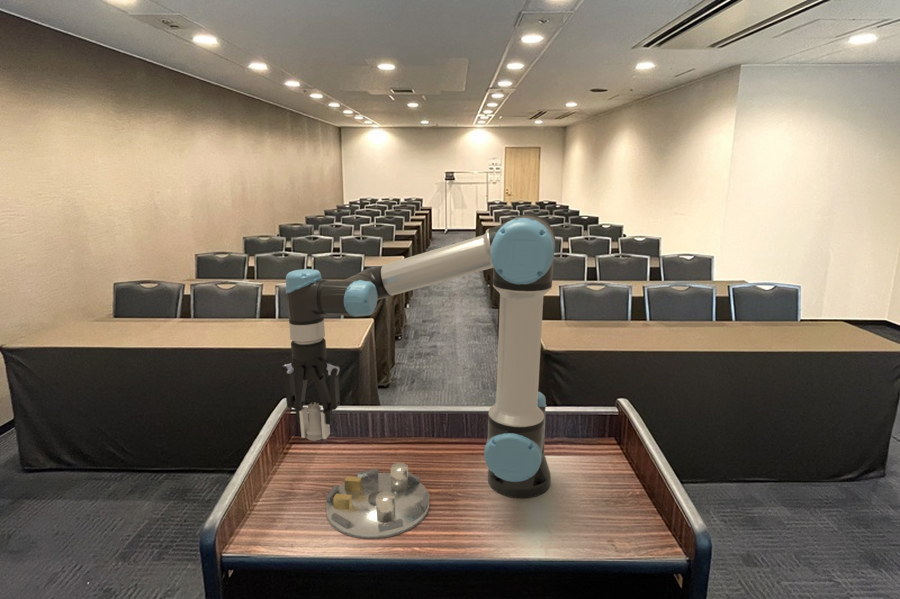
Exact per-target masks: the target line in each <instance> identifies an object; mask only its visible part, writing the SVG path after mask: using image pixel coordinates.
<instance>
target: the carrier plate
mask: <svg viewBox="0 0 900 599" xmlns="http://www.w3.org/2000/svg"><path fill="white" fill-rule="evenodd" d="M325 500H326V503H325V510H326V518H327V521H328V522H329V524H330V525H331V527H333V528H334V529H335V530H337V531H338V532H340V533H342V534H344V535H346V536H349V537H352V538H357V539H363V540H365V539H367V540H368V539H369V540H373V539H375V540H376V539H377V540H378V539H386V538H390V537H394V536H397V535H401V534H403V533H405V532H407V531H409V530H411V529H413V528H415V527H416V526H418V525H419V524H420V523H421V522H423V520H424V519H425V518H426V516H427V514H428V512H429V509H430V492H429V491H428V489H427V488H426V486H425V485H424V484H423V483H422V482H421V477H419V476H417V475H415V474H413V473H411V472H409V465H408V464H406V463H404V462H397V463H392V464H391V466H390V472H379V470H378V468H372V469H369V470H364V471H358V472H356V476H349V475H348V476H346V477H345V479H344V482H343V483H342V484H340V485H337V484H334V485H333V486H332V488H330V491H329V492H328V494H327V495H326V497H325Z"/></svg>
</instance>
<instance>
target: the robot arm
mask: <svg viewBox="0 0 900 599" xmlns="http://www.w3.org/2000/svg"><path fill="white" fill-rule="evenodd" d="M555 235H556V234H555V232H554V230H553V228H552V226H551V225H550V223H549V222H548V221H546V220H545V219H543V218H542V216H541V217H540V216H539V215H535V214H528V213H527V214H520V215H517V216H515V217H513V218H512V219H510V220H508V221H506V222H503V223H502V224H499V225H496V226H492V227H490V228H487V229H486V231H485V233H484V234H482V235H479V236H475V237H473V238H469V239H466V240H461V241H459V242H456V243H452V244H448V245H444V246H442V247H439V248H435V249H432V250H428V251H425V252H422V253H418V254H415V255H412V256H409V257H405V258H402V259H399V260H395V261H392V262H389V263H385V264H382V265H379V266H375V267H368V268H365V269H362V270H361V271H360V272H359V273H356V274H354V275H352V276H350V277H348V278H345V279H344V280H343V279H342V280H339V279H338V280H337V279H336V280H331V279H330V280H329V279H328V280H327V279H323V278H322V275H321V272H320V271H319V270H318V269H312V268H305V269H303V268H302V269H295V270H292V271H290V272H288V273H287V274H286V276H285V294H286V302H287V312H288V323H289V326H288V327H289V337H290V338H289V339H290V340H291V342H290V352H291V357H292V360H291V362H290V363H285V364H284V365H282V366H281V367H280V371H281V374H282V376H283V382H284V390H285V391H284V392H285V399H286V406H287V408H289V409H290V408H292V409H294V410H295V418H296V422H297V423H298V424H300V435H301V439H305V438H306V435H307V434H306V430H307V429H308V426H309V417H308V414H309V412H308V411H307V410H306V409H307V408H308V406H305V405H306V403H305V401H306V400H305V399H306V392H307V388H308V387H307V386H308V381H309V380H311V381H313V383H314V385H315V386H316V389H317V393H318V396H319V399H320V400H319V401H320V403H321V405H322V410H321V411H320V421H321V424H322V437H323V438H322V440H327V438H328V437H329V436H330V435H331V428H330V425H331V424H332V423H333V421H334V418H333V416H334V415H333V411H336V409H337V408H338V407H339V406H340V404H341V400H340V398H341V397H340V384H339V382H340V381H339V380H340V379H339V375H340V372H341V366H340V365H339V364H337V365H332V364H331V363H330V362H329V360H328V358H327V343H326V339H325V336H326V328H325V318H324V316H328V315H329V316H347V317H349V316H350V317H356V318H357V317H367V316H369V317H370V316H371V315H373V314H374V313H375V311H376V308H377V305H378V301H379V300H382V299H385V298H390V297H393V296H396V295H399V294H402V293H407V292H409V291H415V290H417V289H421V288H425V287H427V286H432V285H436V284H439V283H442V282H443V283H444V282H446V281H450V280H453V279H454V280H455V279H457V278H460V277H464V276H468V275H471V274H475V273H479V272H482V271H485V270H489V269H493V272H492V273H493V274H492V287H493V288H494V289H495V290H496V291H497V292H498V294H499V319H498V343H497V345H498V346H497V370H496V371H497V374H496V395H495V397H496V398H495V401H494V403H495V404H493V405H492V406H491V407H489V409H488V418H487V419H488V420H487V421H488V422H487V423H488V424H487V440H486V443H485V445H484V447H483V448H484V450H483V455H484V456H483V457H484V461H485V464H486V467H487V468H488V471H487V482H488V485H489V486H490V488H492V489H493V491H496V492H497V493H499V494H502V495H503V496H507V497H510V498H515V499H516V498H517V499H518V498H519V499H524V498H525V499H527V498H532V497H533V498H534V497H538V496H540V495H542V494H545V493H546V492H547V490H549V488H550V487H551V471H550V468H549V464H548V461H547V458H546V455H545V439H546V438H545V436H546V431H545V430H546V407H547V404H546V403H547V400H546V396H545V395H544V394H543V393H542V392H541V391H539V384H540V383H539V382H540V367H541V366H540V363H541V345H542V344H541V343H542V330H543V329H542V326H543V311H544V310H543V306H544V297H545V295H546V294H547V293H548V292H549V291H550V290H552V287H553V274H554V259H555V258H554V257H555V248H556V236H555ZM294 371H295V373H296V374H297V382H296V383H297V389H296V384H295V374H294ZM326 371H328V372H327V374H328V376H329V388H328V387H327V382H326V376H325V373H326Z"/></svg>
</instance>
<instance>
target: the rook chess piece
mask: <svg viewBox="0 0 900 599" xmlns="http://www.w3.org/2000/svg"><path fill="white" fill-rule="evenodd" d="M321 409H322V407H321V406H320V403H319V402H317V403H316V402H310V403H308V404H307V409H306V410H307V411H308V422H309V426H308V429H307V430H306V434H307V435H306V437H305V438H306V439H307V440H308V441H312V442H313V441H314V442H315V441H320V440H323V437H322V424H321V411H320V410H321Z"/></svg>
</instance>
